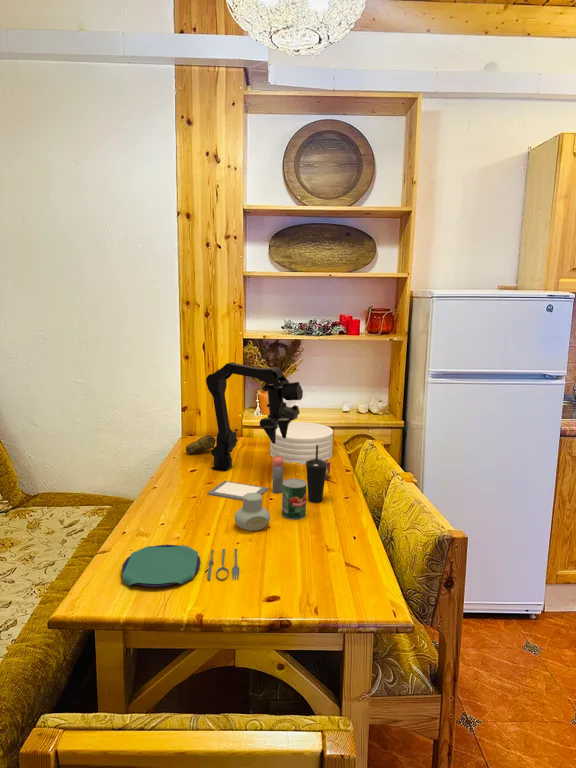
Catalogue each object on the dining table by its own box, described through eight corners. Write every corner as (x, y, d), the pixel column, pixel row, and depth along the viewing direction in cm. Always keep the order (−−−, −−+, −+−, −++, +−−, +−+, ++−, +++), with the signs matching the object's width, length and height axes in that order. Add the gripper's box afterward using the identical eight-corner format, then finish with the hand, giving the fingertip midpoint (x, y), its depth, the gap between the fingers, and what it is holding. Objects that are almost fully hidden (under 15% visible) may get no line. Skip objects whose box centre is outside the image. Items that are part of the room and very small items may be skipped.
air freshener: (264, 518, 162) (265, 489, 160) (273, 529, 154) (273, 498, 152) (231, 523, 158) (231, 493, 156) (238, 535, 150) (238, 503, 148)
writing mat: (207, 494, 180) (207, 492, 179) (224, 482, 192) (224, 479, 191) (253, 502, 173) (253, 500, 173) (268, 489, 185) (268, 487, 185)
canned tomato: (289, 507, 170) (290, 476, 168) (310, 513, 166) (311, 481, 164) (277, 516, 163) (277, 483, 162) (298, 522, 159) (299, 489, 158)
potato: (188, 450, 230) (187, 433, 228) (216, 450, 230) (216, 433, 229) (185, 455, 222) (184, 438, 220) (214, 456, 222) (214, 438, 220)
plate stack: (261, 460, 218) (261, 434, 216) (281, 442, 245) (281, 419, 243) (324, 468, 210) (325, 441, 208) (337, 449, 237) (338, 425, 235)
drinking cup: (324, 505, 172) (326, 449, 169) (302, 503, 174) (304, 447, 170) (327, 497, 180) (329, 443, 176) (306, 494, 181) (307, 441, 178)
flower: (336, 471, 201) (326, 454, 202) (337, 474, 192) (325, 457, 192) (316, 484, 202) (305, 467, 202) (315, 488, 192) (304, 470, 193)
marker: (270, 492, 183) (271, 458, 180) (274, 488, 186) (275, 455, 184) (280, 494, 181) (281, 459, 179) (284, 490, 185) (285, 456, 182)
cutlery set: (130, 551, 140) (130, 543, 139) (239, 550, 143) (239, 542, 142) (113, 594, 120) (112, 585, 120) (239, 591, 123) (239, 583, 123)
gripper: (284, 404, 181) (288, 446, 182) (304, 396, 197) (307, 435, 199) (257, 404, 185) (260, 446, 187) (279, 397, 202) (282, 435, 204)
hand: (279, 440), depth 194 cm, fingers open, 9 cm apart
